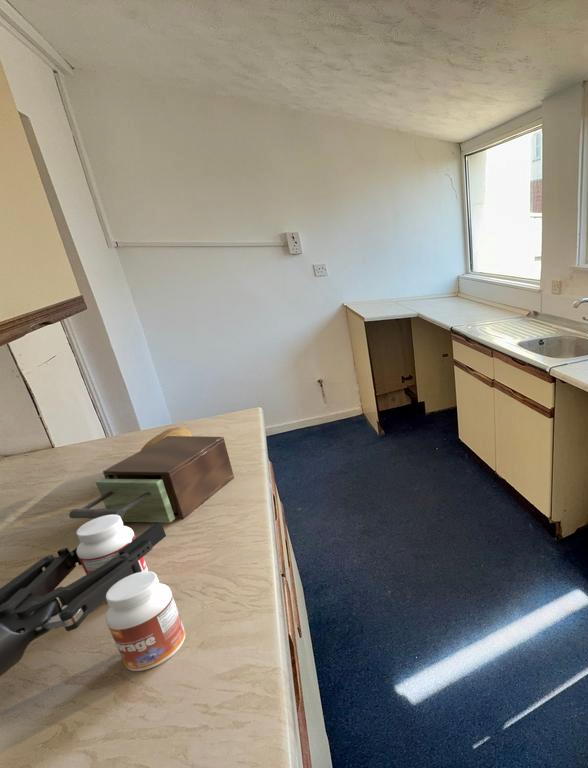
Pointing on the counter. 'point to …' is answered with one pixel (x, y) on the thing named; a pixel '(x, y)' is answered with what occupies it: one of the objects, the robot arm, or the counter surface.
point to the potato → (166, 433)
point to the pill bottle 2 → (144, 621)
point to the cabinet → (182, 468)
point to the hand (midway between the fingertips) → (140, 529)
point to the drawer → (132, 499)
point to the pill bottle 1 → (103, 542)
